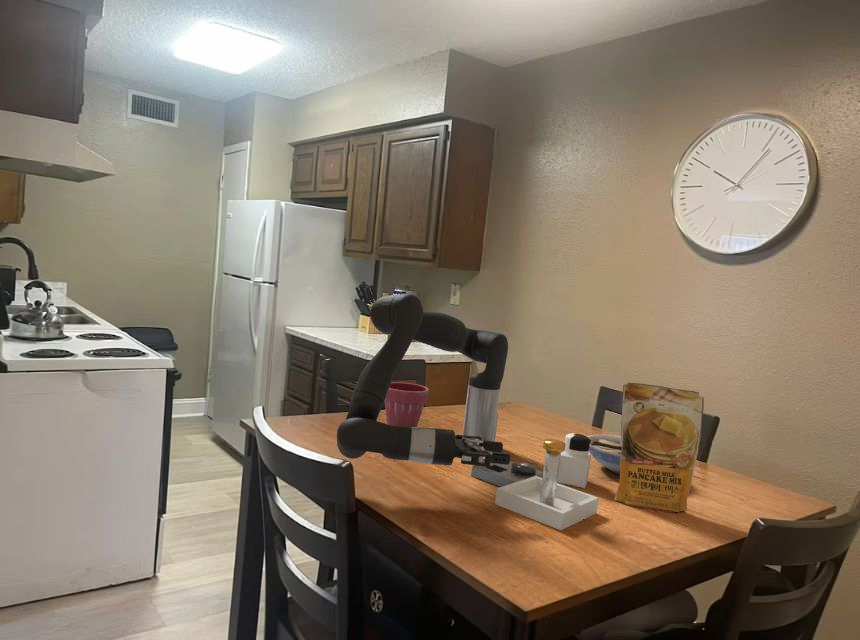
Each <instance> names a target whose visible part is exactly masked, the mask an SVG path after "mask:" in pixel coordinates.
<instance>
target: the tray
mask: <svg viewBox="0 0 860 640" xmlns="http://www.w3.org/2000/svg"><path fill="white" fill-rule="evenodd" d="M541 484H542V478H541V477H538V476H534V477H531V478H528V479H524V480H521V481H518V482H515V483H512V484H509V485H506V486H503V487H497V488H496V493H495V499H494V500H495V502H494V505H495V506H499V507H501V508H504V509H506V510H509V511H511V512H514V513H515V514H518V515H521V516H523V517H526V518H528V519H531V520H533V521H535V522H537V523H541V524H543V525H545V526H548V527H550V528H553V529H556V530H558V531H563V530H564V529H566V528H568V527H572V526H573V525H575V524H577V523H579V522H582V521H583V519H584V520H585V519H588V518H590V517H592V516H594V515H596V514H597V513H598V508H599V507H598V506H599V499H600V497H598V496H596V495H593V494H591V493H586V492H584V491H581V490H578V489H575V488H573V487H569V486H567V485H565V484H562V483H557V486H556V493H555V500H554V507H551V506H548V505H545V504H543V503H540V502H539V498H540V491H541Z"/></svg>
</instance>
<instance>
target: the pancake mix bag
mask: <svg viewBox="0 0 860 640" xmlns="http://www.w3.org/2000/svg"><path fill="white" fill-rule="evenodd" d="M704 402H705V401H704V396H700V392H699V391H695V390H687V389H677V388H671V387H667V386H662V385H661V386H660V385H656V384H655V385H654V384H646V383H639V382H636V383H635V382H627V383H625V384H623V385H622V396H621V411H622V412H621V421H620V423H621V424H620V425H621V427H620V436H621V444H622V450H621V459H620V474H619V481H618V482H619V483H618V486H617V487H618V488H617V491H616V493H615V496H614V499H613V500H614V501H615V502H621V503H622V504H623V505H624V504H625V505H626V504H627V506H630V505H632V507H636V506H637V507H638V508H641V507H643V508H642V509H646V508H651V509H650V510H653V509H657V510H656V511H660V510H663V511H662V512H665V511H670V512H669V513H671V512H678V513H677V514H680V513H681V512H680V511H687V512H688V502H687V501H688V498H689V493H690V489H691V486H692V481H693V476H694V471H695V466H696V464H697V463H696V461H697V458H698V453H699V447H700V444H701V443H700V442H701V437H702V428H703V427H702V426H703V415H704V408H705V407H704V405H705V403H704ZM637 507H636V508H637ZM679 512H680V513H679Z"/></svg>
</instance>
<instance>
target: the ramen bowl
mask: <svg viewBox="0 0 860 640" xmlns="http://www.w3.org/2000/svg"><path fill="white" fill-rule="evenodd" d="M586 436H587V435H586ZM587 437H588V438H589V439H590V446H589V454H591V457H592V458H593V459H594V460H595V461H597V462H598V463H599V464H600V465H602V466H603V467H605V468H606V469H609V471H610V472H612V473H614V474H617V475H620V459H621V450H622V444H621V435H612V434H592V435H588V436H587Z"/></svg>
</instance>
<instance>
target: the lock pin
mask: <svg viewBox="0 0 860 640" xmlns="http://www.w3.org/2000/svg"><path fill="white" fill-rule="evenodd" d="M565 445H566V443H565V441H562V440H559V439H555V438H554V439H553V438H546V439H544V440H543V446H542V447H543V449H545V455H544V463H543V471H542V472H543V477H542V484H541V491H540V498H539V502H540V503H543V504H545V505H548V506H551V507H554V500H555V493H556V486H557V479H558V471H559V464H560V457H561V452H564V451H565Z"/></svg>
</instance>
